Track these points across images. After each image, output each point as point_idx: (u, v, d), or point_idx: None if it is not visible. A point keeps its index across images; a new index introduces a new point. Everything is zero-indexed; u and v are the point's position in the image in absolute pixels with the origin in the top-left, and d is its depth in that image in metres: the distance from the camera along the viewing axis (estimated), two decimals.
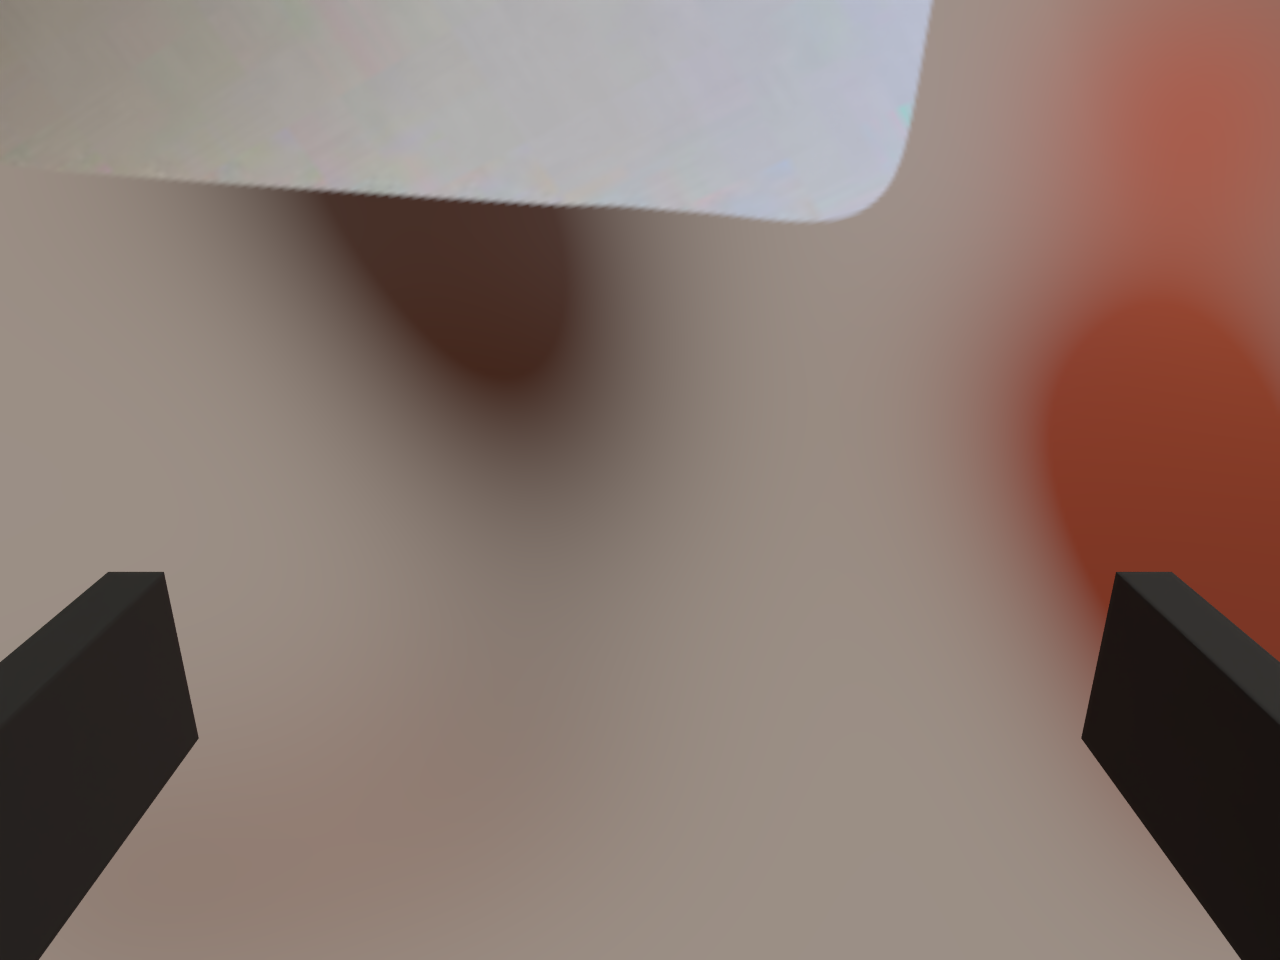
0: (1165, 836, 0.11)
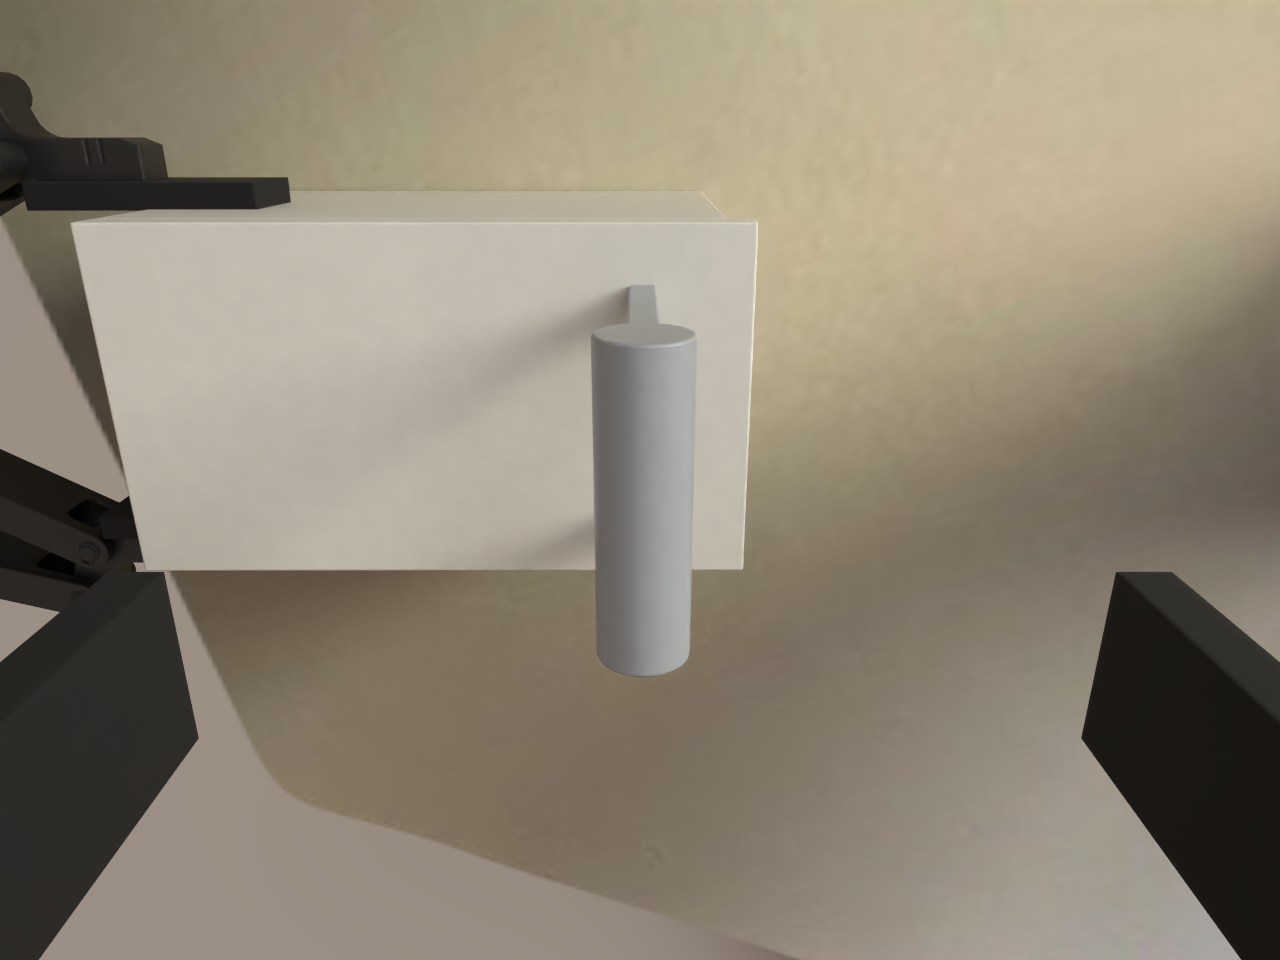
0: (1165, 836, 0.11)
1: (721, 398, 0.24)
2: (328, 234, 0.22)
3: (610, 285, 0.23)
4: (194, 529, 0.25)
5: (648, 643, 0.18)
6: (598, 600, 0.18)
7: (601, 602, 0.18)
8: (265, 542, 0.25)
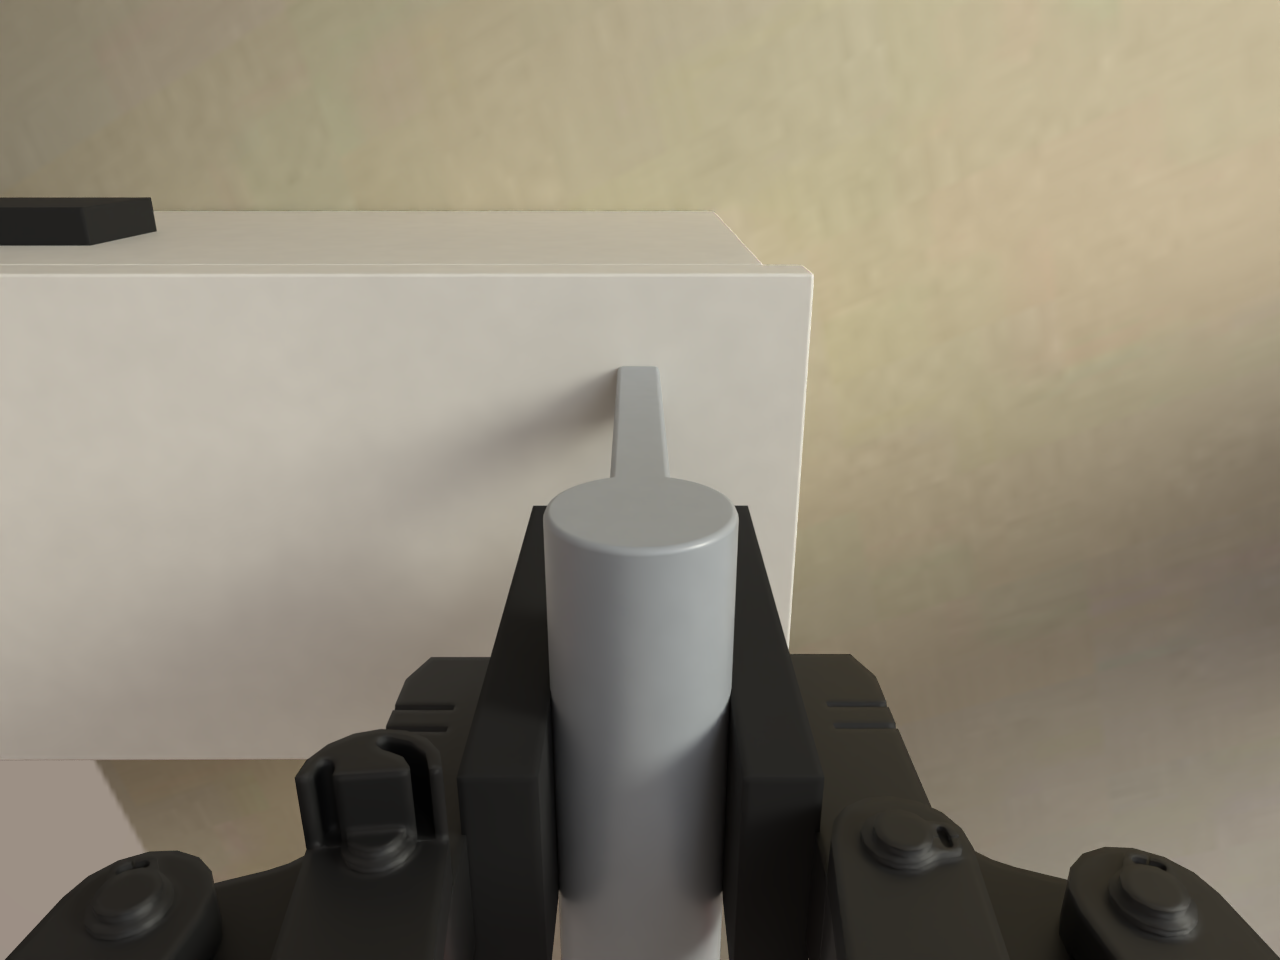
0: None
1: (754, 527, 0.16)
2: (161, 291, 0.15)
3: (590, 366, 0.15)
4: None
5: None
6: (563, 939, 0.11)
7: (568, 947, 0.11)
8: (98, 723, 0.18)
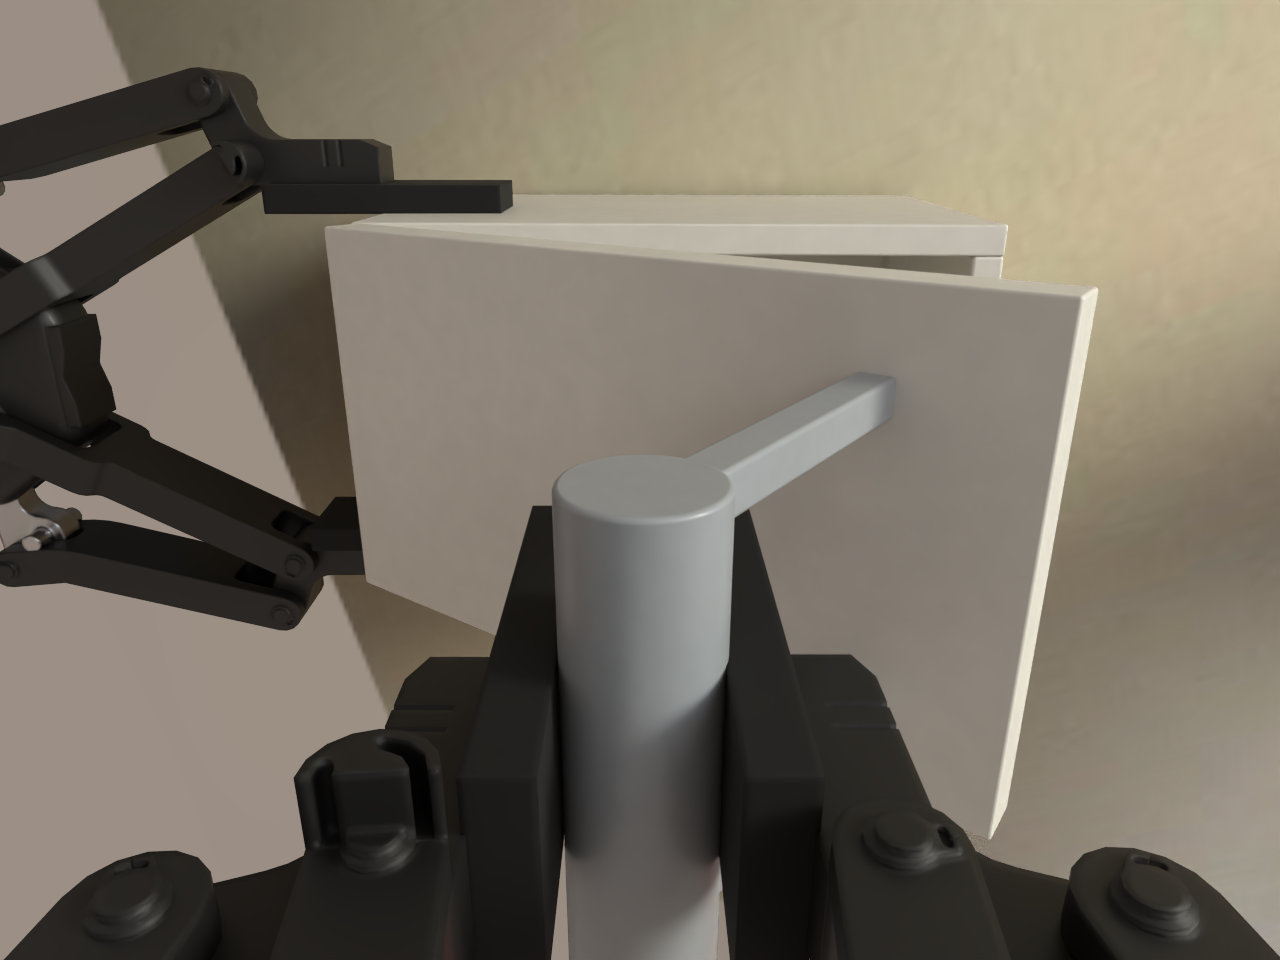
0: None
1: (983, 572, 0.15)
2: (518, 258, 0.18)
3: (831, 367, 0.15)
4: (400, 555, 0.24)
5: None
6: None
7: None
8: (452, 589, 0.23)
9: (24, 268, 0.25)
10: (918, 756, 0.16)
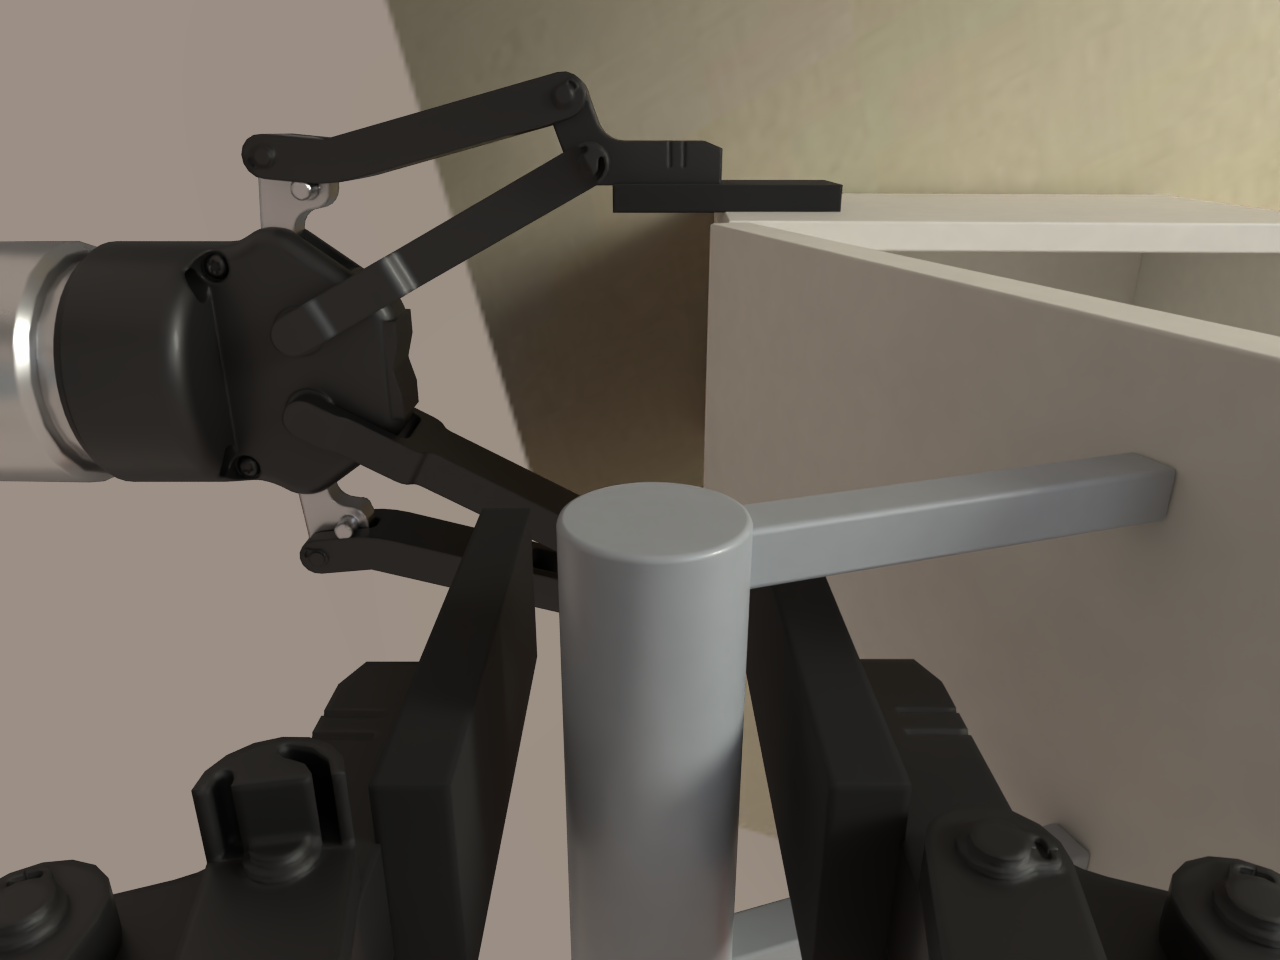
0: (759, 726, 0.13)
1: (1253, 763, 0.10)
2: (837, 269, 0.17)
3: (1105, 440, 0.12)
4: None
5: None
6: None
7: None
8: None
9: (379, 264, 0.26)
10: None
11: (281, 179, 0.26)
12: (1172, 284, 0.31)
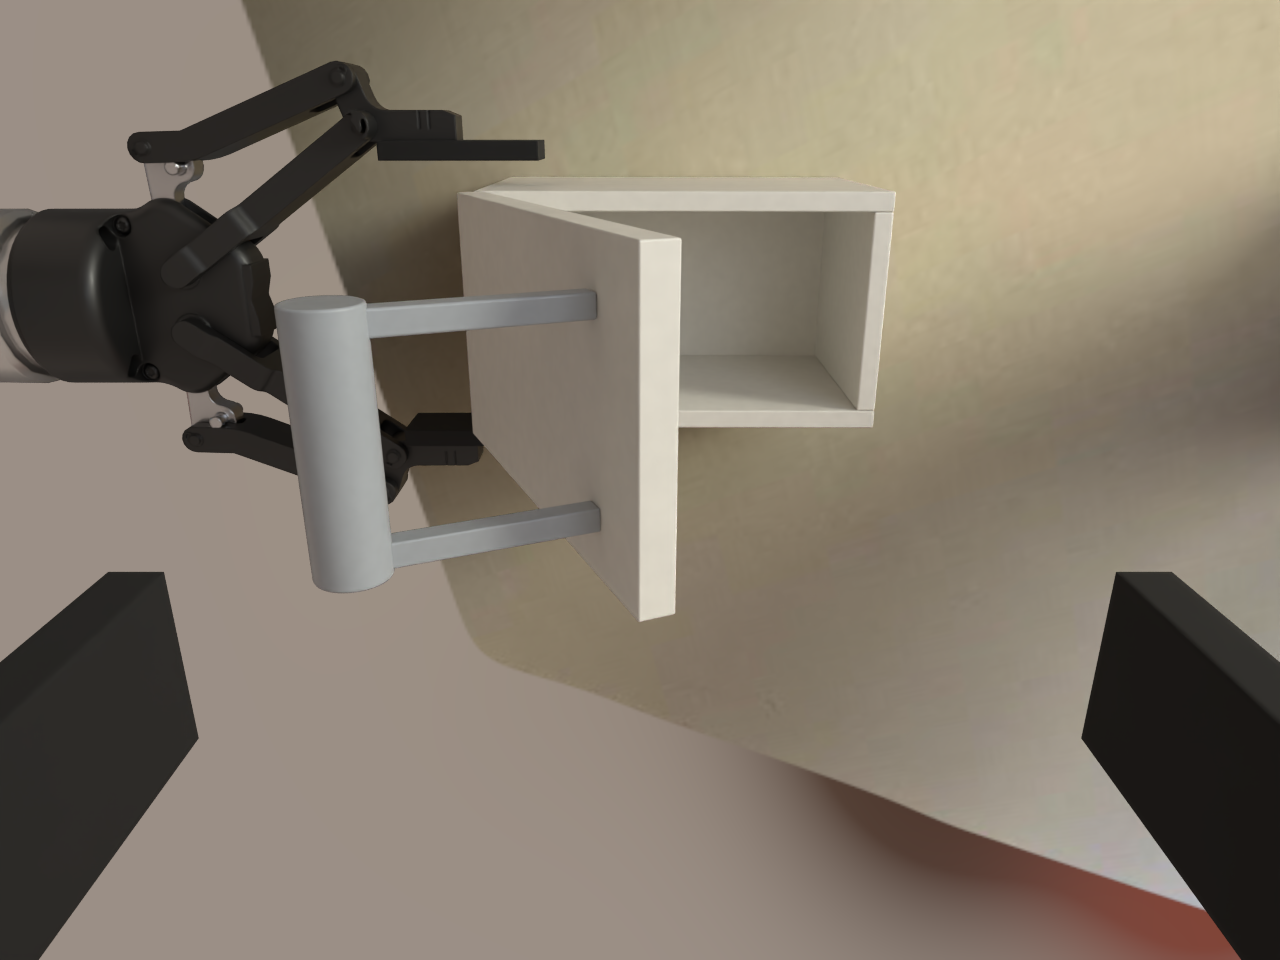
0: (1164, 836, 0.11)
1: (625, 426, 0.22)
2: (503, 213, 0.29)
3: (581, 286, 0.24)
4: (481, 414, 0.36)
5: (310, 555, 0.22)
6: None
7: None
8: (494, 437, 0.34)
9: (226, 215, 0.38)
10: (617, 559, 0.24)
11: (157, 162, 0.37)
12: (833, 241, 0.43)
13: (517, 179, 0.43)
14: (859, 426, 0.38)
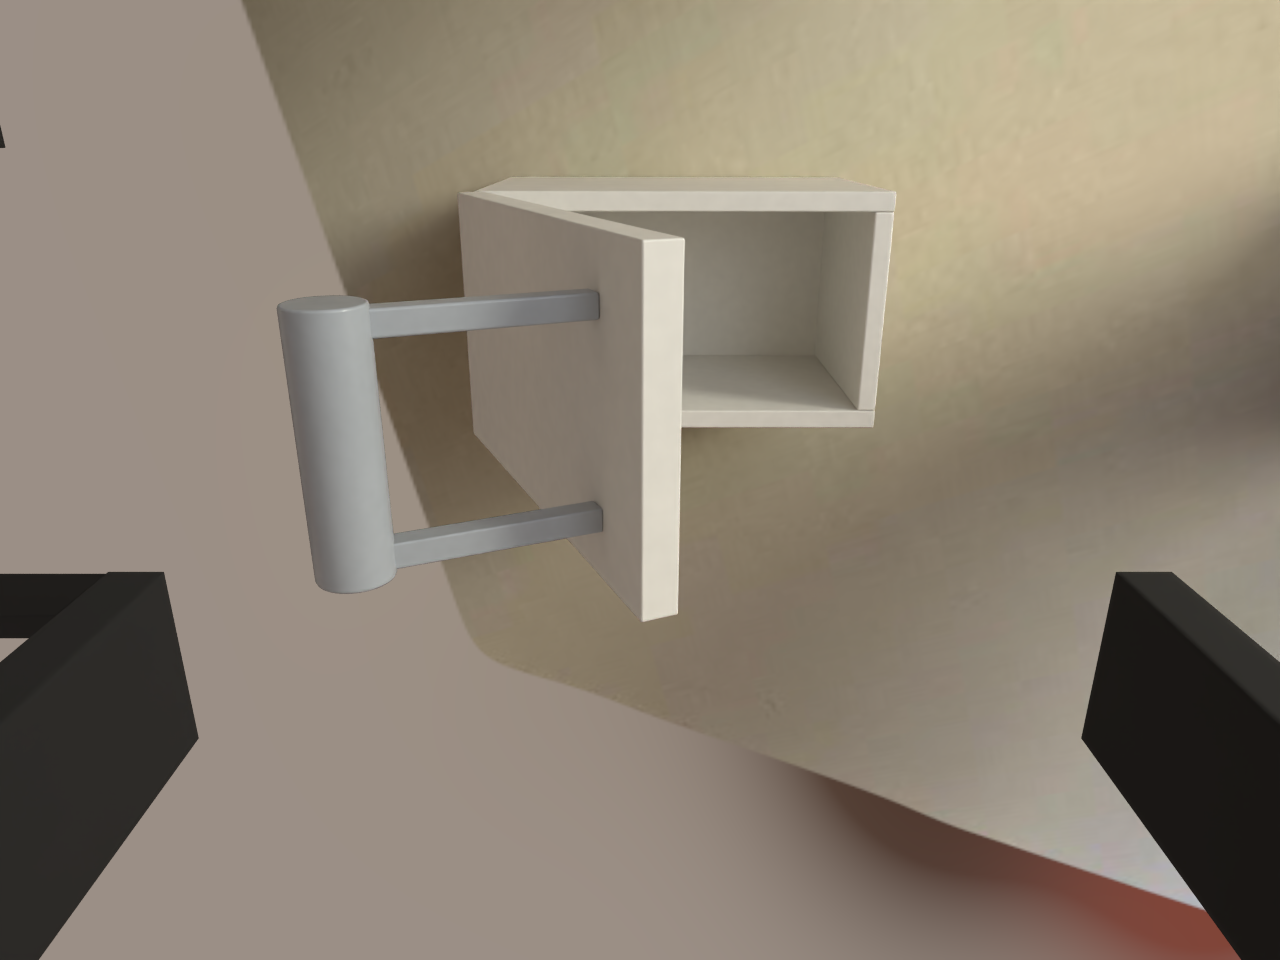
0: (1164, 836, 0.11)
1: (628, 426, 0.22)
2: (505, 213, 0.29)
3: (583, 286, 0.24)
4: (482, 414, 0.36)
5: (313, 555, 0.22)
6: None
7: None
8: (495, 438, 0.34)
9: None
10: (619, 559, 0.24)
11: None
12: (833, 240, 0.43)
13: (517, 179, 0.43)
14: (860, 426, 0.38)
